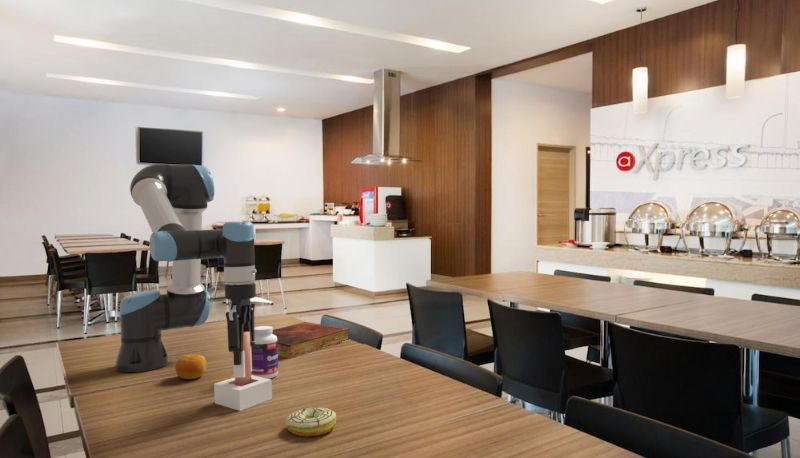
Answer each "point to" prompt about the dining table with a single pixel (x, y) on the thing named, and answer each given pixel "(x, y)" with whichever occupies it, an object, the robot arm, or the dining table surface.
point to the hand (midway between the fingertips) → (242, 374)
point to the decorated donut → (311, 421)
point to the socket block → (243, 393)
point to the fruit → (191, 366)
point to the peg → (246, 348)
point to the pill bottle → (264, 353)
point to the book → (307, 338)
